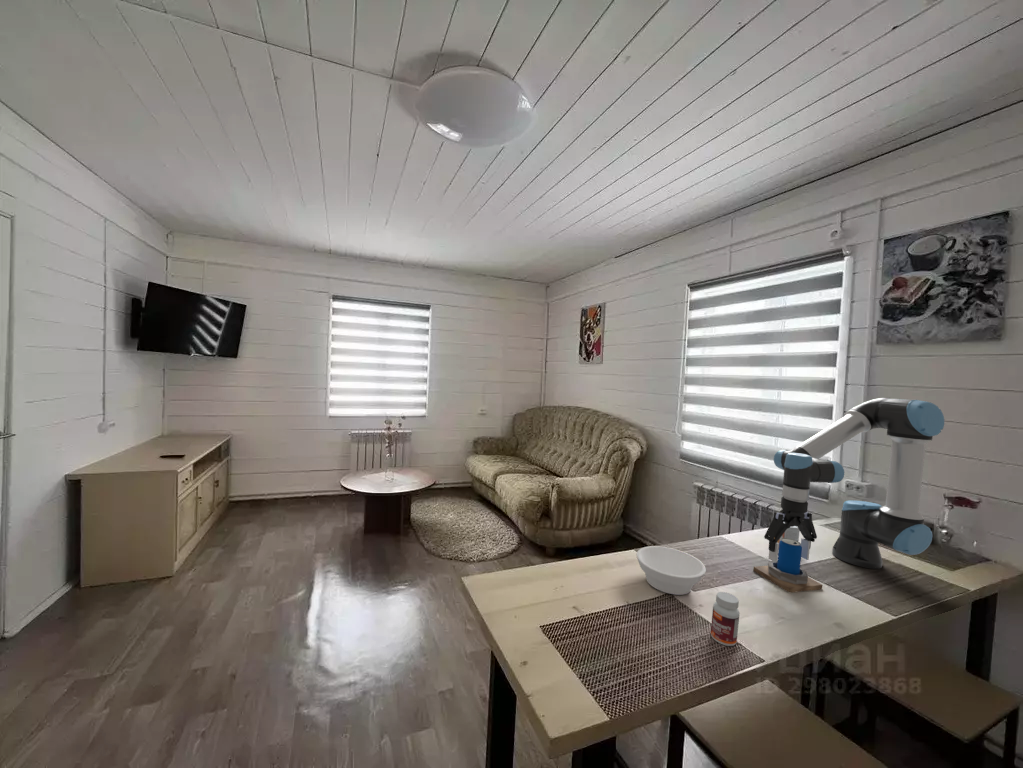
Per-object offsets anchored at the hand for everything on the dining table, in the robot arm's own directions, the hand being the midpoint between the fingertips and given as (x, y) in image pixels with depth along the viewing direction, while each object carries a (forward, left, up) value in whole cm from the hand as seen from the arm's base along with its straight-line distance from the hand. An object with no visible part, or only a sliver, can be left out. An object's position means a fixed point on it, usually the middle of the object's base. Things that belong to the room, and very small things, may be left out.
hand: (788, 559), depth 140 cm
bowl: (+45, -3, -8) cm, 46 cm away
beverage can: (0, 0, -6) cm, 6 cm away
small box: (-23, -21, -8) cm, 32 cm away
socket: (0, 0, -7) cm, 7 cm away
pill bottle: (+47, +23, -7) cm, 53 cm away
